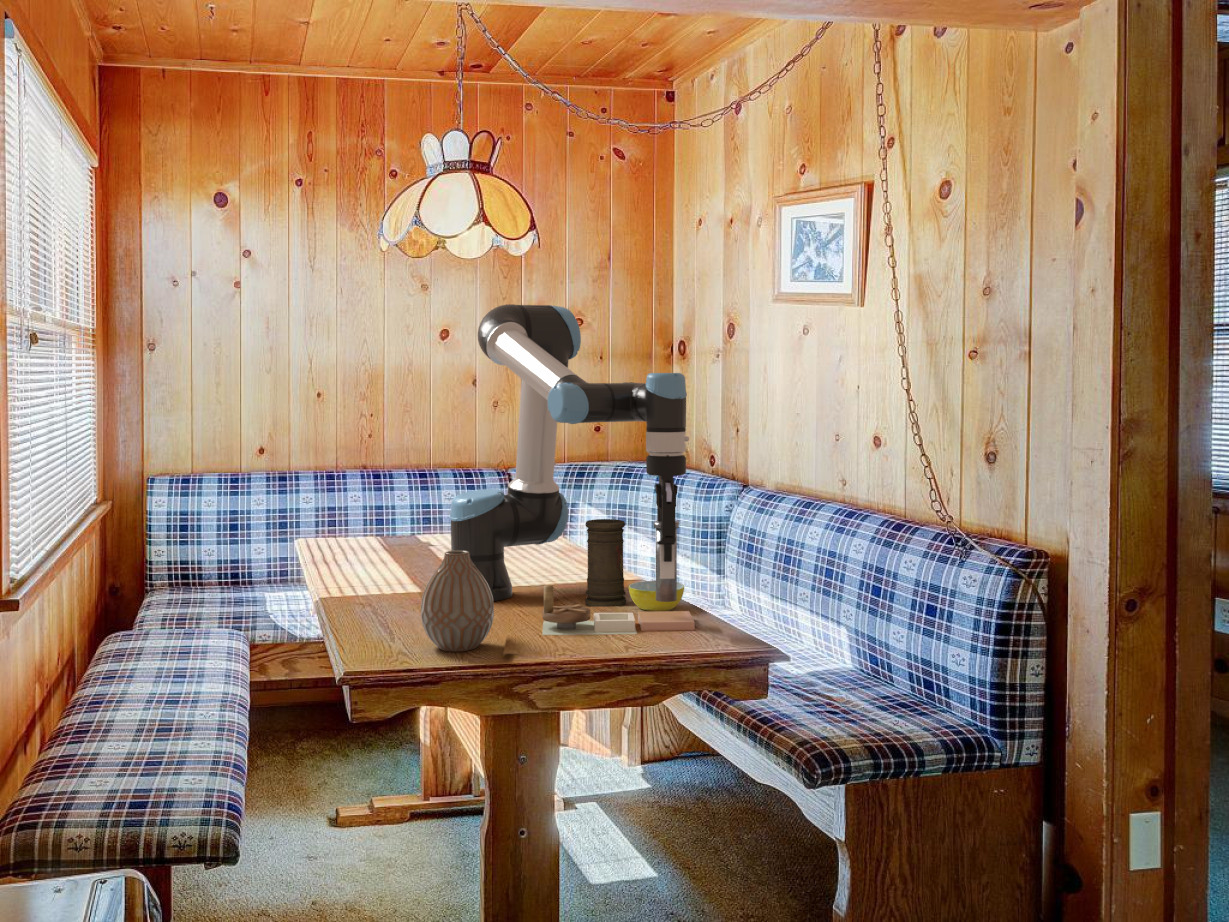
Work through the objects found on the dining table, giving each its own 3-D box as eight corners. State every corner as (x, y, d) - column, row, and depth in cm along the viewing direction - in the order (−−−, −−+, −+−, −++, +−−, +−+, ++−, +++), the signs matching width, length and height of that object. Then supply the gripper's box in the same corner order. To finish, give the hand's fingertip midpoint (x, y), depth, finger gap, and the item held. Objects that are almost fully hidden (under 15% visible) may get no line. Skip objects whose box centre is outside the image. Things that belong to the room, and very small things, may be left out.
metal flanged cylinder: (654, 602, 226) (654, 523, 225) (652, 597, 231) (652, 520, 229) (679, 602, 226) (680, 523, 225) (677, 597, 231) (677, 520, 230)
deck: (542, 642, 220) (542, 624, 220) (543, 628, 232) (543, 611, 232) (637, 641, 221) (637, 623, 220) (633, 627, 233) (633, 610, 232)
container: (596, 609, 250) (596, 524, 249) (577, 602, 258) (577, 519, 257) (634, 605, 254) (634, 522, 253) (614, 598, 262) (614, 517, 261)
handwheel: (572, 625, 220) (572, 590, 219) (533, 619, 224) (533, 585, 224) (599, 616, 227) (599, 583, 227) (560, 611, 232) (560, 578, 232)
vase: (407, 652, 212) (406, 555, 211) (443, 637, 225) (442, 545, 223) (473, 659, 208) (472, 559, 206) (506, 642, 220) (505, 548, 219)
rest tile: (641, 638, 224) (641, 622, 223) (638, 626, 234) (638, 611, 233) (694, 637, 224) (694, 621, 224) (688, 626, 234) (688, 611, 234)
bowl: (643, 623, 237) (643, 592, 237) (619, 612, 248) (619, 582, 247) (694, 618, 242) (694, 588, 241) (669, 607, 252) (669, 578, 252)
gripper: (690, 457, 218) (690, 583, 220) (681, 451, 235) (681, 568, 237) (649, 457, 218) (649, 584, 219) (643, 451, 235) (643, 569, 236)
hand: (666, 576), depth 228 cm, fingers closed on metal flanged cylinder, 4 cm apart
